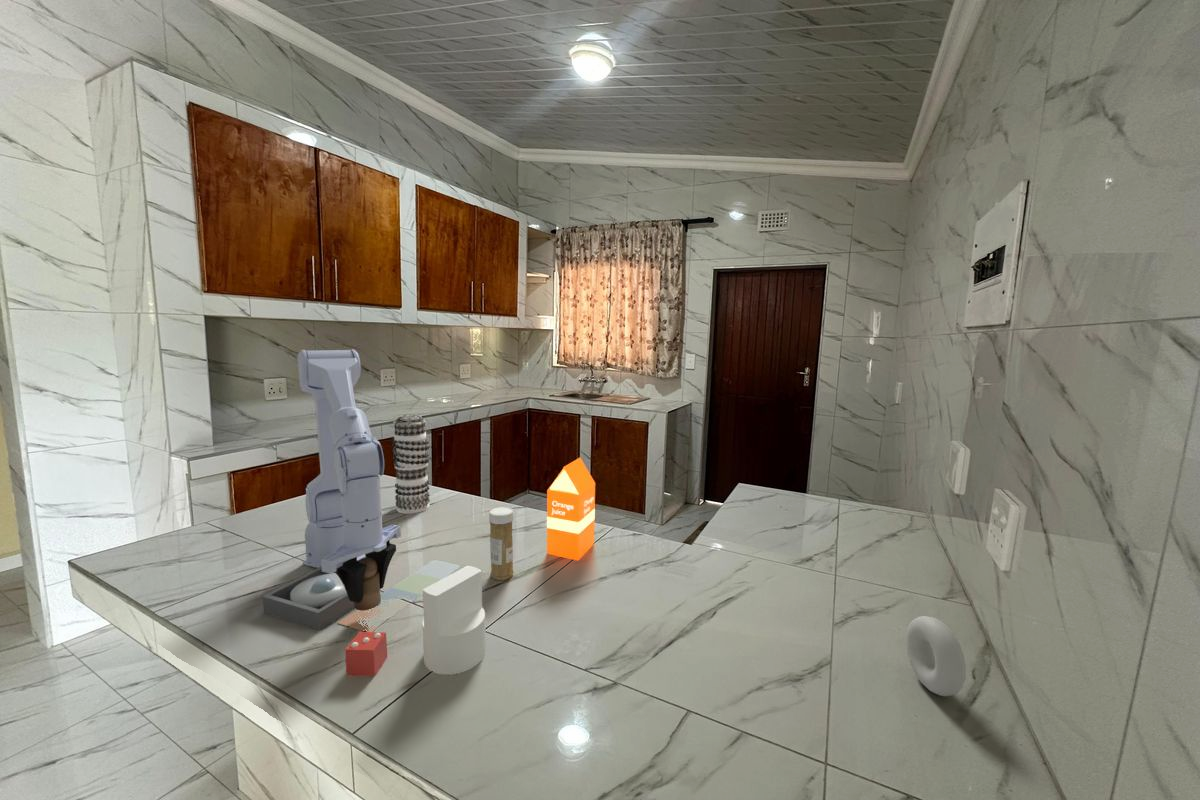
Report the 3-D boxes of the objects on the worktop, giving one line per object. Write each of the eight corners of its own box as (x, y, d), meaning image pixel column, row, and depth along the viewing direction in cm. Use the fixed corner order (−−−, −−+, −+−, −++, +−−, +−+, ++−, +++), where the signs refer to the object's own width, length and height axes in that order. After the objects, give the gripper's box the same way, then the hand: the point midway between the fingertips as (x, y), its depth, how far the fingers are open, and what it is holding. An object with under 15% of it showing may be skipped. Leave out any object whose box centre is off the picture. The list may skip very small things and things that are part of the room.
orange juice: (546, 553, 107) (546, 465, 104) (564, 538, 115) (565, 455, 112) (578, 560, 104) (580, 469, 101) (594, 544, 113) (596, 459, 109)
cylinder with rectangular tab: (452, 683, 68) (450, 603, 66) (410, 659, 73) (407, 584, 71) (498, 648, 76) (497, 575, 74) (457, 628, 81) (455, 559, 79)
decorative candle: (387, 512, 128) (382, 418, 125) (406, 500, 137) (403, 412, 134) (419, 515, 127) (416, 420, 123) (437, 502, 136) (434, 413, 132)
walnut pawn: (348, 607, 81) (345, 561, 80) (368, 595, 85) (365, 551, 84) (367, 612, 80) (364, 566, 79) (386, 600, 83) (383, 555, 82)
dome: (277, 608, 84) (275, 586, 84) (327, 580, 94) (326, 561, 93) (320, 621, 81) (319, 599, 80) (368, 591, 90) (367, 571, 90)
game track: (337, 623, 81) (337, 622, 81) (433, 560, 103) (433, 559, 103) (370, 633, 79) (370, 632, 79) (461, 566, 101) (461, 565, 101)
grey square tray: (263, 612, 84) (262, 596, 83) (328, 577, 96) (327, 562, 95) (319, 630, 79) (318, 613, 79) (380, 590, 91) (379, 575, 91)
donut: (897, 662, 74) (904, 601, 73) (920, 663, 74) (928, 602, 73) (940, 714, 65) (950, 644, 63) (967, 715, 65) (977, 645, 63)
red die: (346, 675, 69) (344, 646, 69) (360, 656, 73) (358, 629, 73) (374, 676, 69) (373, 647, 69) (387, 657, 73) (385, 629, 73)
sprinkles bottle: (517, 577, 97) (516, 512, 95) (495, 583, 95) (494, 516, 93) (508, 567, 101) (507, 504, 99) (486, 573, 98) (485, 509, 96)
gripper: (344, 537, 72) (349, 623, 74) (413, 504, 85) (416, 577, 87) (308, 529, 74) (314, 613, 76) (381, 499, 88) (385, 570, 90)
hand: (366, 593), depth 82 cm, fingers closed on walnut pawn, 4 cm apart
